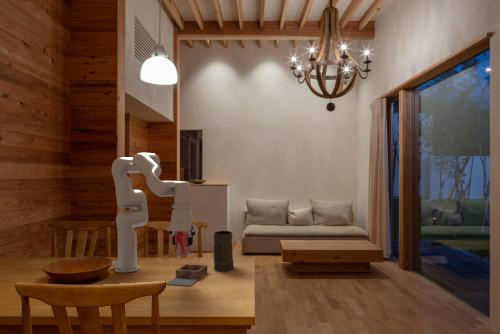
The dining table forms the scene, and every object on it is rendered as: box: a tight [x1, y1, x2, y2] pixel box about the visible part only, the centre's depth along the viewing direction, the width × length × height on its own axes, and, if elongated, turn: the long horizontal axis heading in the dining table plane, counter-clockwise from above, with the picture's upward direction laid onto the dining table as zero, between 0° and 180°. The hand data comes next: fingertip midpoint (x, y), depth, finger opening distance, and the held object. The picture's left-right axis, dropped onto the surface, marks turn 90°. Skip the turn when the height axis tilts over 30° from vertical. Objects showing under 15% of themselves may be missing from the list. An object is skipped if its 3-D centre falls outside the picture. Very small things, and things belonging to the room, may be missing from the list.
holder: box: [175, 263, 208, 281], centre depth 187 cm, size 12×12×4 cm
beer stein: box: [213, 230, 235, 273], centre depth 201 cm, size 15×11×20 cm
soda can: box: [174, 231, 191, 257], centre depth 175 cm, size 7×7×12 cm
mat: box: [166, 277, 199, 288], centre depth 175 cm, size 12×10×1 cm
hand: (182, 244), depth 175 cm, fingers closed on soda can, 7 cm apart
